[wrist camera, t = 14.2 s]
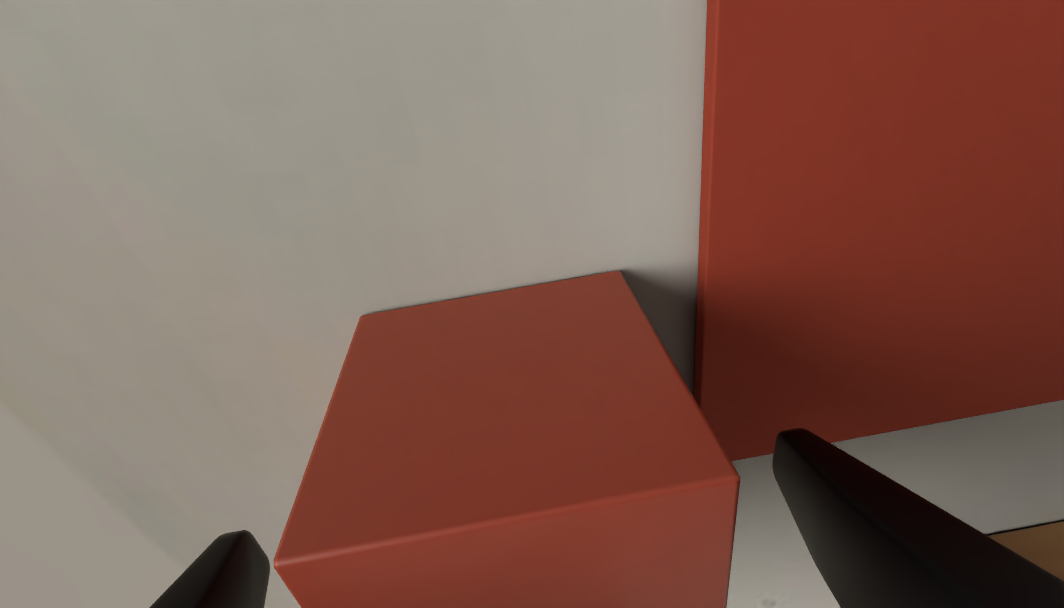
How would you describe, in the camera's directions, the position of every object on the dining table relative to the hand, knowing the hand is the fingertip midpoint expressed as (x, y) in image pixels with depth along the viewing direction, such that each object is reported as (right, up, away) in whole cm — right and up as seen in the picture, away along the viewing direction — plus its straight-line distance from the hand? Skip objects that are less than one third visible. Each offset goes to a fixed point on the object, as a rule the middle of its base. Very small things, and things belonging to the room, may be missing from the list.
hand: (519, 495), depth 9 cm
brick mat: (+8, +5, +1) cm, 10 cm away
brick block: (0, +1, +2) cm, 3 cm away
